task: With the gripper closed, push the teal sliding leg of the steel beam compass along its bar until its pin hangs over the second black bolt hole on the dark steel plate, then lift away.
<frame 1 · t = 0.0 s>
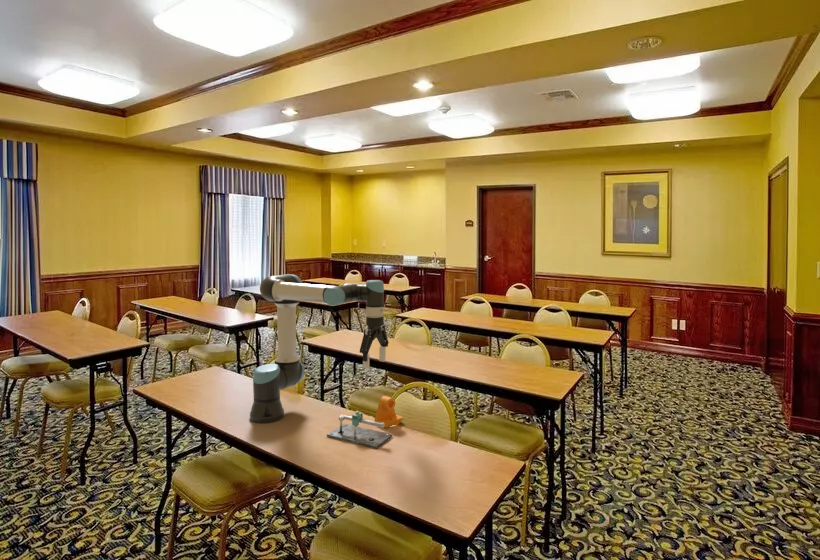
hand: (374, 364, 206), 28 cm above the table, fingers open, 13 cm apart
bolt plate: (359, 436, 199), on the table
bracket: (389, 424, 213), on the table
sliding leg: (357, 422, 198), point 6 cm above the table, slide at -1.0 cm
dividers bar: (360, 427, 197), on the bolt plate, point 4 cm above the table
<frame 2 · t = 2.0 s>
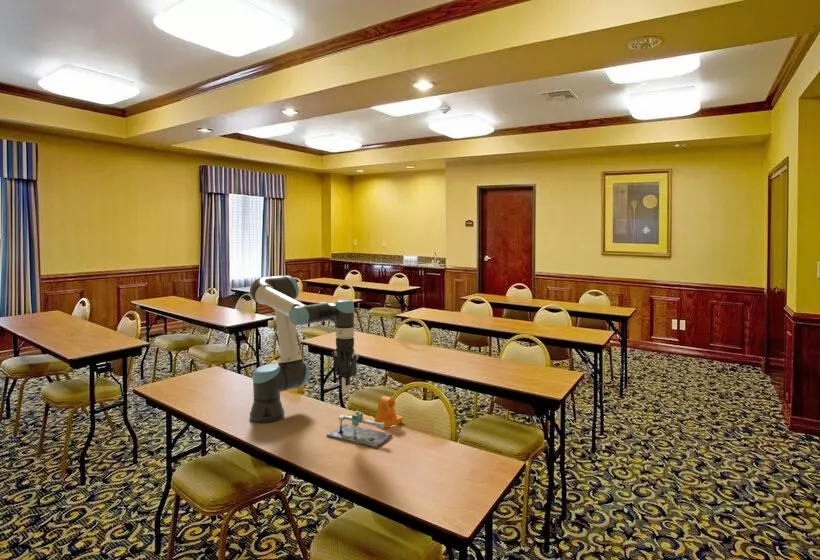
hand: (345, 392, 200), 18 cm above the table, fingers closed
nothing on the table moved.
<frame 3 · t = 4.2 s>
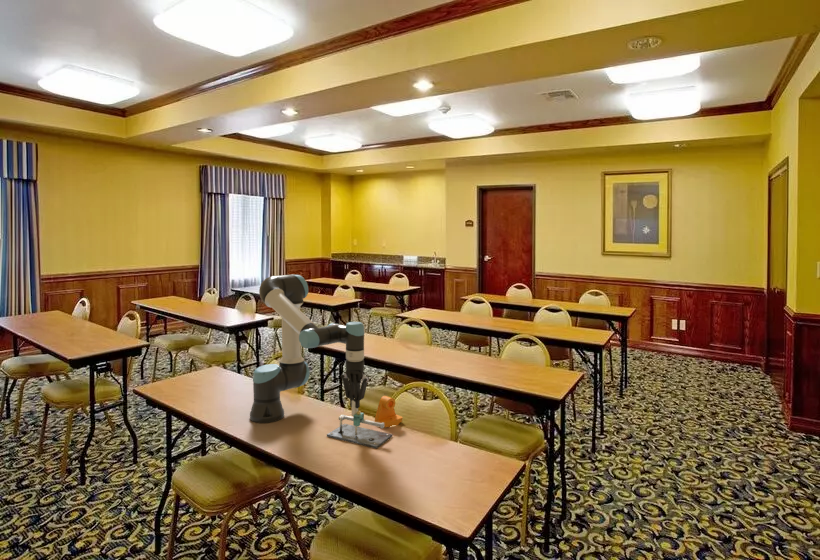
hand: (354, 414, 199), 9 cm above the table, fingers closed
sliding leg: (358, 422, 198), point 6 cm above the table, slide at -0.4 cm, touching gripper
everything else where it was.
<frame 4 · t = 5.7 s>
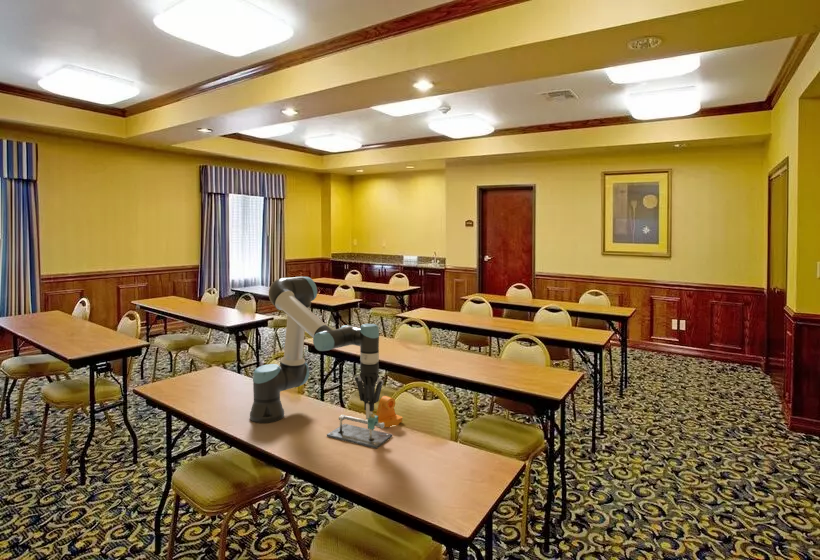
hand: (369, 418, 196), 9 cm above the table, fingers closed
sliding leg: (372, 425, 195), point 6 cm above the table, slide at 6.6 cm, touching gripper
everything else where it was.
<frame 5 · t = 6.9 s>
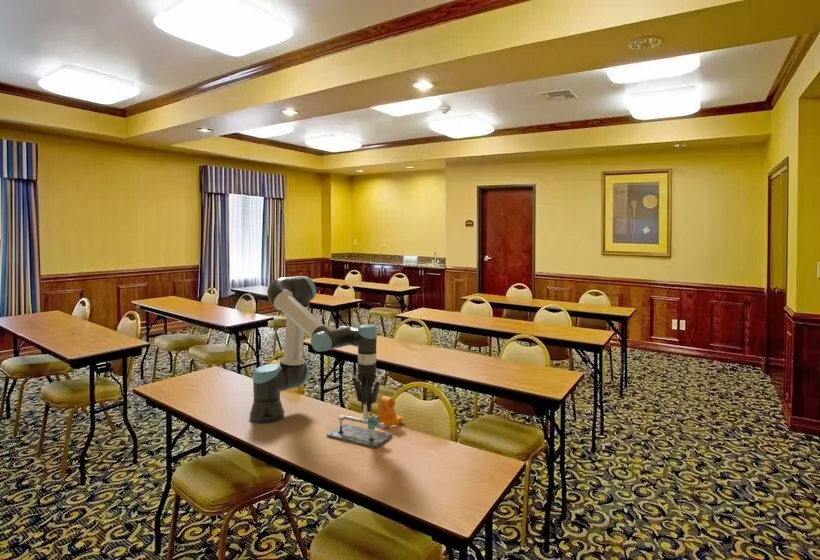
hand: (366, 418, 197), 8 cm above the table, fingers closed
sliding leg: (373, 425, 195), point 6 cm above the table, slide at 6.7 cm
everything else where it was.
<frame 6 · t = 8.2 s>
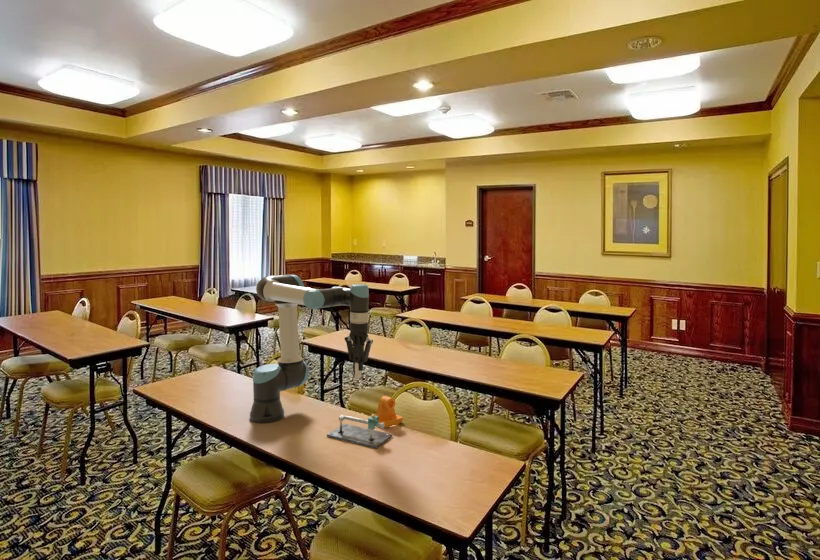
hand: (358, 377, 199), 25 cm above the table, fingers closed
nothing on the table moved.
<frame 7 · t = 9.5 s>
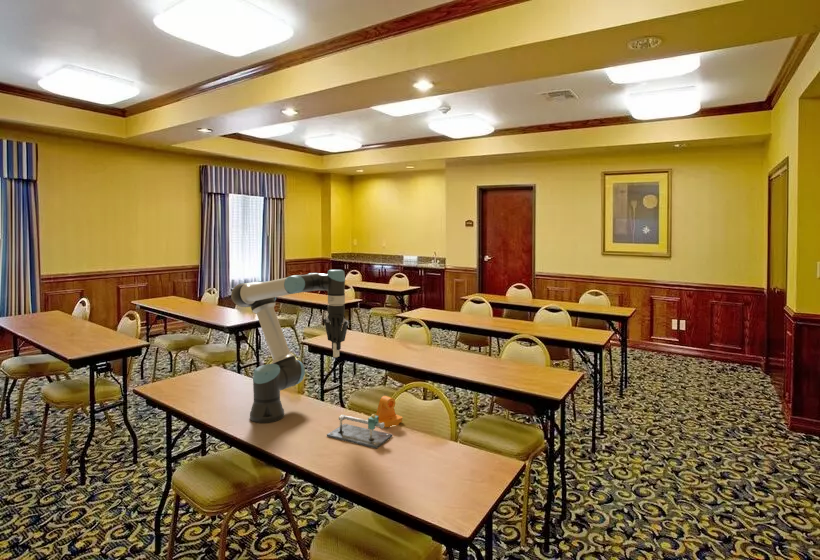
hand: (336, 356, 214), 29 cm above the table, fingers closed
nothing on the table moved.
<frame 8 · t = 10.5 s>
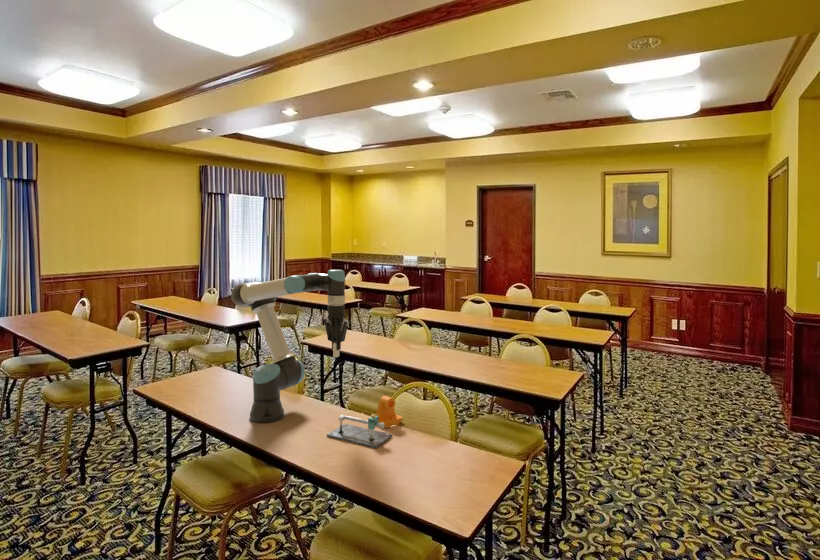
hand: (336, 356, 214), 29 cm above the table, fingers closed
nothing on the table moved.
at the end: sliding leg slide at 6.7 cm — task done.
